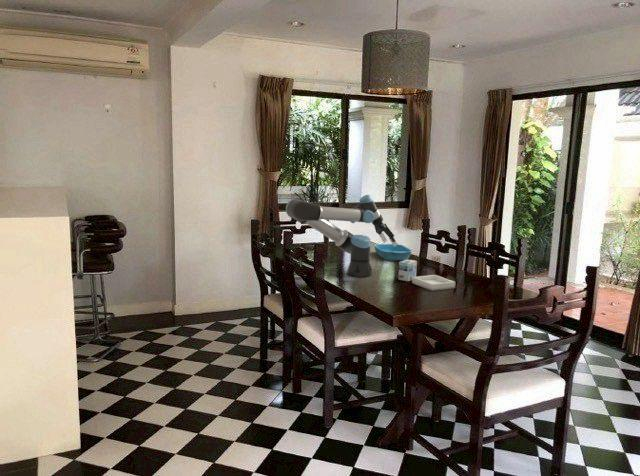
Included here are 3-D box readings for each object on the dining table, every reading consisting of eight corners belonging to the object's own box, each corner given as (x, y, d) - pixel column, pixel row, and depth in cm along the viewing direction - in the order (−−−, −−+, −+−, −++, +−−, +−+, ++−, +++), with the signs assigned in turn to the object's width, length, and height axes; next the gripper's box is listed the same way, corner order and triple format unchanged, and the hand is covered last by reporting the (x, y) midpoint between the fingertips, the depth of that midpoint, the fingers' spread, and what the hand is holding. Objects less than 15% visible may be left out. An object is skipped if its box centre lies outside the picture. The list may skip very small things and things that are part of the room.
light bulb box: (408, 281, 292) (409, 263, 290) (397, 279, 296) (398, 261, 294) (416, 278, 300) (417, 260, 299) (406, 276, 304) (407, 259, 303)
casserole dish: (370, 252, 380) (371, 242, 379) (399, 252, 384) (399, 242, 382) (384, 262, 344) (384, 252, 343) (415, 262, 348) (415, 252, 347)
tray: (431, 290, 273) (432, 284, 272) (412, 283, 289) (412, 277, 288) (455, 288, 280) (455, 282, 279) (434, 280, 296) (434, 274, 295)
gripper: (389, 216, 310) (404, 243, 317) (371, 211, 332) (385, 236, 340) (380, 223, 308) (395, 250, 315) (362, 217, 331) (377, 243, 338)
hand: (390, 243), depth 328 cm, fingers open, 13 cm apart
